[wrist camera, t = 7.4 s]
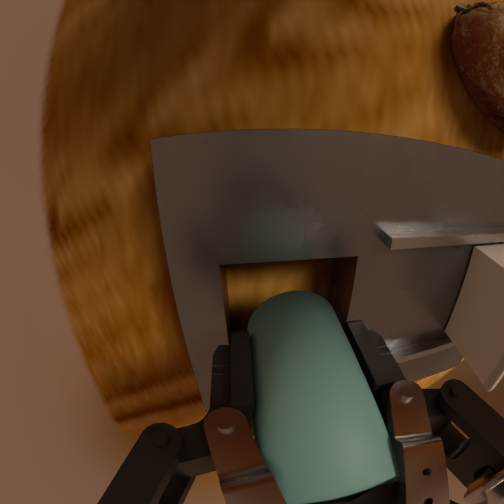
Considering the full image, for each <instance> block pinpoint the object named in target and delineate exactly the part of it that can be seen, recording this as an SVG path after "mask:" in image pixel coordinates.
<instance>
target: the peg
mask: <svg viewBox="0 0 504 504" xmlns="http://www.w3.org/2000/svg"><path fill="white" fill-rule="evenodd" d="M247 331H249V339H250V352H251V365H252V378H253V391H254V404H255V418H254V433H255V441H256V444H257V446H258V449H259V451H260V453H261V456H262V458H263V460H264V462H265V465H266V466H267V468H268V469H269V470H270V471H271V473H272V474H273V476H274V478H275V480H276V482H277V485H278V487H279V489H280V491H281V493H282V495H283V497H284V499H285V501H286V503H287V504H346V503H348V502H350V501H352V500H354V499H356V498H358V497H360V496H362V495H363V494H365V493H367V492H369V491H371V490H372V489H375V488H378V487H381V486H384V485H386V484H389V483H392V482H395V481H397V477H399V476H400V473H399V469H398V464H397V459H396V455H395V451H394V448H393V445H392V441H391V439H390V436H389V434H388V431H387V429H386V426H385V424H384V421H383V419H382V416H381V414H380V411H379V409H378V407H377V404H376V402H375V399H374V397H373V395H372V392H371V390H370V388H369V385H368V383H367V381H366V379H365V376H364V374H363V372H362V370H361V367H360V365H359V363H358V361H357V358H356V356H355V354H354V352H353V350H352V347H351V345H350V343H349V341H348V339H347V337H346V334H345V332H344V330H343V328H342V326H341V324H340V322H339V320H338V318H337V316H336V313H335V311H334V309H333V307H332V306H331V304H330V303H329V302H328V301H327V300H326V299H325V298H323V297H322V296H320V295H318V294H316V293H313V292H308V291H290V292H285V293H281V294H278V295H276V296H273V297H271V298H269V299H268V300H266V301H265V302H263V303H262V304H261V305H260V306H259V307H258V308H257V309H256V310H255V311H254V312H253V314H252V316H251V317H250V320H249V322H248V328H247Z"/></svg>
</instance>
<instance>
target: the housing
mask: <svg viewBox="0 0 504 504" xmlns="http://www.w3.org/2000/svg"><path fill="white" fill-rule="evenodd" d="M150 142H151V153H152V163H153V172H154V181H155V189H156V196H157V203H158V210H159V217H160V223H161V229H162V235H163V241H164V247H165V252H166V258H167V263H168V268H169V273H170V278H171V283H172V288H173V292H174V297H175V301H176V306H177V310H178V314H179V319H180V323H181V327H182V331H183V335H184V339H185V342H186V346H187V350H188V354H189V357H190V361H191V364H192V368H193V371H194V375H195V378H196V381H197V385H198V388H199V391H200V394H201V398H202V401H203V404H204V407H205V410H206V412H207V413H208V411H209V408H210V393H211V376H212V361H213V354H214V352H215V350H216V349H217V347H218V346H219V345H231V332H241V331H247V328H248V325H246V326H231V319H230V310H229V300H228V290H227V280H226V270H225V264H242V263H259V262H275V261H291V260H307V259H322V258H333V266H332V275H331V284H330V292H329V299H328V302H329V303H330V304H331V306H332V307H333V309H334V311H335V313H336V316H337V318H338V320H339V322H340V324H341V326H342V325H343V323H344V322H346V321H353V320H362V321H363V322H364V324H365V326H366V328H367V329H368V330H372V329H373V330H374V331H376V332H377V333H378V334H379V335H381V336H382V338H383V339H384V341H385V343H386V344H387V347H388V348H389V350H390V351H391V354H392V355H393V357H394V358H395V360H396V362H397V364H398V365H399V367H400V369H401V371H402V373H403V374H404V376H405V378H406V379H407V380H410V381H416V380H419V379H422V378H425V377H428V376H431V375H434V374H437V373H439V372H442V371H445V370H447V369H450V368H452V367H455V366H457V365H459V363H460V362H461V360H462V358H463V355H462V354H461V353H460V351H459V350H458V349H457V347H456V346H455V345H454V343H453V342H452V341H451V339H450V338H449V337H448V336H447V334H446V333H445V332H444V331H445V329H446V327H447V324H448V322H449V320H450V317H451V315H452V312H453V310H454V307H455V305H456V302H457V299H458V297H459V294H460V291H461V288H462V285H463V282H464V279H465V276H466V273H467V270H468V267H469V263H470V260H471V256H472V253H473V249H474V246H482V245H494V244H504V160H502V159H499V158H495V157H492V156H489V155H485V154H481V153H478V152H474V151H470V150H466V149H462V148H458V147H453V146H449V145H444V144H439V143H434V142H428V141H423V140H417V139H411V138H404V137H398V136H390V135H382V134H373V133H363V132H352V131H338V130H319V129H248V130H229V131H215V132H203V133H193V134H184V135H176V136H168V137H162V138H156V139H150Z"/></svg>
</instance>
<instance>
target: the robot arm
mask: <svg viewBox="0 0 504 504" xmlns="http://www.w3.org/2000/svg"><path fill="white" fill-rule="evenodd" d="M342 328H343V330H344V332H345V334H346V337H347V339H348V341H349V343H350V345H351V347H352V350H353V352H354V354H355V356H356V358H357V361H358V363H359V365H360V367H361V370H362V372H363V374H364V376H365V379H366V381H367V383H368V385H369V388H370V390H371V392H372V395H373V397H374V399H375V402H376V404H377V407H378V409H379V411H380V414H381V416H382V419H383V421H384V424H385V426H386V429H387V431H388V434H389V436H390V439H391V441H392V445H393V448H394V451H395V455H396V459H397V464H398V469H399V473H400V476H399V477H397V481H395V482H392V483H389V484H386V485H384V486H381V487H378V488H375V489H372V490H371V491H369V492H367V493H365V494H363V495H362V496H360V497H358V498H356V499H354V500H352V501H350V502H348V503H346V504H458V503H456V502H454V501H452V500H450V499H449V486H448V476H447V468H448V469H449V470H450V471H451V472H452V473H453V474H454V475H455V476H456V477H457V478H458V479H459V480H460V481H461V482H462V483H463V485H464V486H466V488H467V492H466V493H465V494H464V500H465V501H467V502H469V501H470V503H471V504H504V418H503V417H501V416H500V415H499V414H498V413H497V412H496V411H495V410H494V409H492V408H491V407H490V406H489V405H488V404H487V403H486V402H485V401H484V400H483V399H482V398H480V397H479V396H478V395H477V394H476V393H475V392H473V391H472V390H471V389H470V388H469V387H468V386H467V385H466V384H464V383H463V382H462V381H460V380H456V379H451V380H448V381H446V382H445V383H444V384H443V385H442V387H441V388H440V389H421V387H420V386H419V385H418V384H416V383H415V382H413V381H410V380H407V379H406V378H405V376H404V374H403V373H402V371H401V369H400V367H399V365H398V364H397V362H396V360H395V358H394V357H393V355H392V354H391V351H390V350H389V348H388V347H387V344H386V343H385V341H384V339H383V338H382V336H381V335H379V334H378V333H377V332H376V331H374V330H373V329H372V330H368V329H367V328H366V326H365V324H364V322H363V321H362V320H353V321H346V322H344V323H343V325H342ZM254 418H255V404H254V391H253V378H252V365H251V352H250V339H249V331H241V332H231V345H219V346H218V347H217V349H216V350H215V352H214V354H213V361H212V376H211V393H210V408H209V411H208V413H207V415H206V416H205V417H204V418H203V419H202V420H201V421H199V422H198V423H196V424H193V425H189V426H185V427H181V428H177V429H176V428H175V427H173V426H172V425H170V424H166V423H156V424H152V425H150V426H148V427H147V428H146V429H145V430H144V431H143V432H142V434H141V435H140V437H139V439H138V440H137V442H136V443H135V445H134V446H133V448H132V450H131V451H130V453H129V454H128V456H127V458H126V459H125V461H124V463H123V464H122V466H121V467H120V469H119V470H118V472H117V474H116V475H115V477H114V478H113V480H112V481H111V483H110V485H109V486H108V488H107V489H106V491H105V492H104V494H103V496H102V497H101V499H100V500H99V502H98V504H183V502H184V500H185V498H186V496H187V494H188V492H189V490H190V488H191V486H192V484H193V482H194V480H195V478H196V476H197V475H201V474H204V473H208V472H212V471H217V474H218V477H219V481H220V486H221V490H222V492H223V496H224V498H225V501H226V504H287V503H286V501H285V499H284V497H283V495H282V493H281V491H280V489H279V487H278V485H277V482H276V480H275V478H274V476H273V474H272V473H271V471H270V470H269V469H268V468H267V466H266V465H265V462H264V460H263V458H262V456H261V453H260V451H259V449H258V446H257V444H256V441H255V439H254V437H253V436H255V433H254ZM451 421H453V422H454V423H455V424H456V425H457V426H458V427H459V428H460V429H461V430H462V431H463V432H464V433H465V434H466V435H467V436H468V437H469V438H470V439H467V438H465V437H464V436H463V435H462V434H461V433H460V432H459V431H458V430H457V429H456V428H455V427H454V426H453V425H452V424H451V423H450V422H451ZM446 467H447V468H446Z"/></svg>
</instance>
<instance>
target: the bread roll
mask: <svg viewBox="0 0 504 504" xmlns="http://www.w3.org/2000/svg"><path fill="white" fill-rule="evenodd" d="M458 9H459V13H458V14H457V16H456V19H455V25H454V31H453V34H452V51H453V56H454V59H455V63H456V66H457V68H458V71H459V73H460V76H461V78H462V80H463V83H464V85H465V87H466V89H467V91H468V93H469V95H470V97H471V99H472V100H473V101H474V103H475V104H476V105H477V106H478V107H479V109H480V110H482V111H483V112H484V114H485V115H486V116H487V117H488V118H489V119H490V120H491V121H492V122H493V123H494V125H495V126H497V127H498V128H499V129H501V130H503V131H504V4H501V3H499V2H498V1H497V2H494V3H485V2H479V3H475V5H470V4H465V3H461V4H459V5H458Z"/></svg>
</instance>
